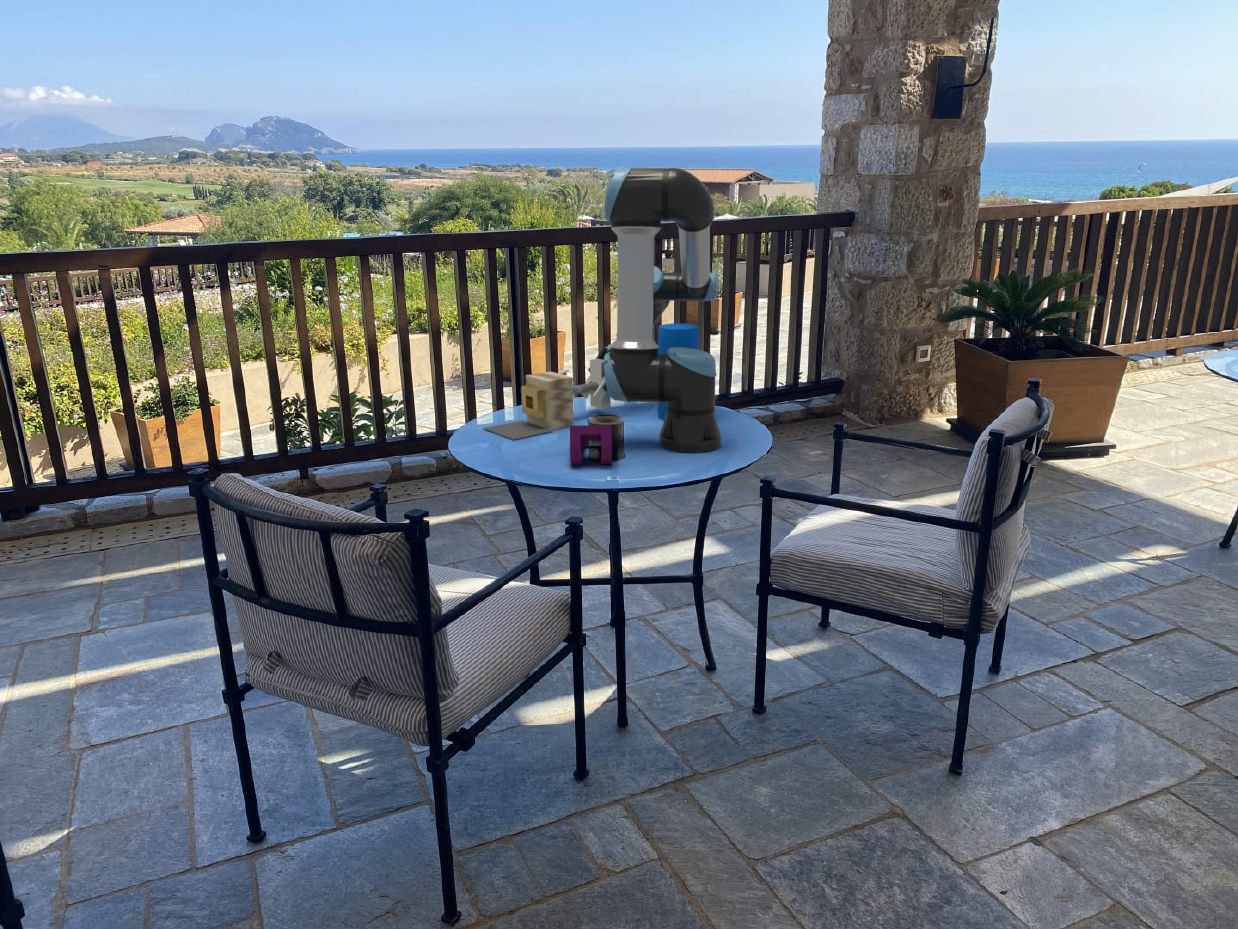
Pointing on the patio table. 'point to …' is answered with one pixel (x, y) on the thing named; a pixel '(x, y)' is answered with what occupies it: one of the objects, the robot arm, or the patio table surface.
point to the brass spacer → (533, 401)
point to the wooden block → (553, 399)
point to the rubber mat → (517, 430)
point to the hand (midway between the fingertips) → (589, 397)
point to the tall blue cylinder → (675, 338)
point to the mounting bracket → (584, 435)
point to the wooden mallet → (594, 384)
